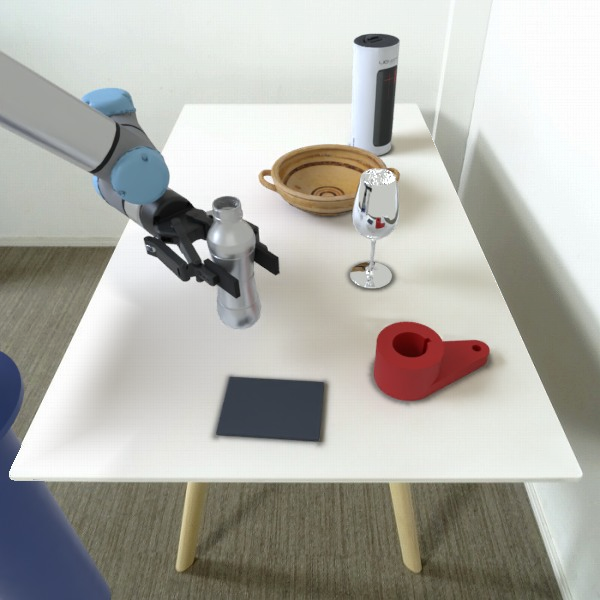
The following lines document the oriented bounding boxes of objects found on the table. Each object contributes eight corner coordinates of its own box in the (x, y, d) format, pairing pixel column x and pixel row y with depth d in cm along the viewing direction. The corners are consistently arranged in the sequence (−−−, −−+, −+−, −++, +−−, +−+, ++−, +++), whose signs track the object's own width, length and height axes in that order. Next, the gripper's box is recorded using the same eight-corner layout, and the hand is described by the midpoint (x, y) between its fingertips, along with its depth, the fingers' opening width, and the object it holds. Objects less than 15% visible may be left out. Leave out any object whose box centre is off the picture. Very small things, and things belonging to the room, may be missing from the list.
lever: (388, 407, 77) (392, 376, 73) (364, 360, 84) (366, 329, 80) (502, 378, 81) (512, 346, 76) (469, 335, 88) (477, 304, 83)
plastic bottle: (246, 299, 85) (233, 184, 72) (271, 323, 81) (262, 205, 68) (210, 317, 82) (190, 200, 69) (234, 342, 78) (217, 223, 65)
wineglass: (340, 275, 100) (343, 176, 87) (369, 257, 104) (376, 160, 91) (372, 295, 96) (380, 194, 82) (401, 276, 99) (413, 176, 86)
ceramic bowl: (391, 174, 128) (394, 142, 123) (403, 233, 110) (407, 198, 104) (264, 176, 129) (262, 144, 124) (256, 234, 111) (252, 200, 105)
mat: (216, 434, 75) (215, 432, 74) (230, 378, 82) (229, 376, 82) (319, 441, 73) (319, 439, 73) (323, 383, 81) (323, 381, 81)
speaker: (360, 160, 134) (366, 47, 116) (342, 143, 141) (345, 34, 124) (398, 152, 136) (409, 40, 119) (378, 135, 144) (386, 28, 127)
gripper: (213, 209, 92) (310, 268, 79) (111, 257, 82) (202, 334, 69) (207, 168, 87) (309, 224, 74) (97, 214, 77) (193, 288, 64)
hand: (257, 277), depth 72 cm, fingers closed on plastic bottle, 6 cm apart
